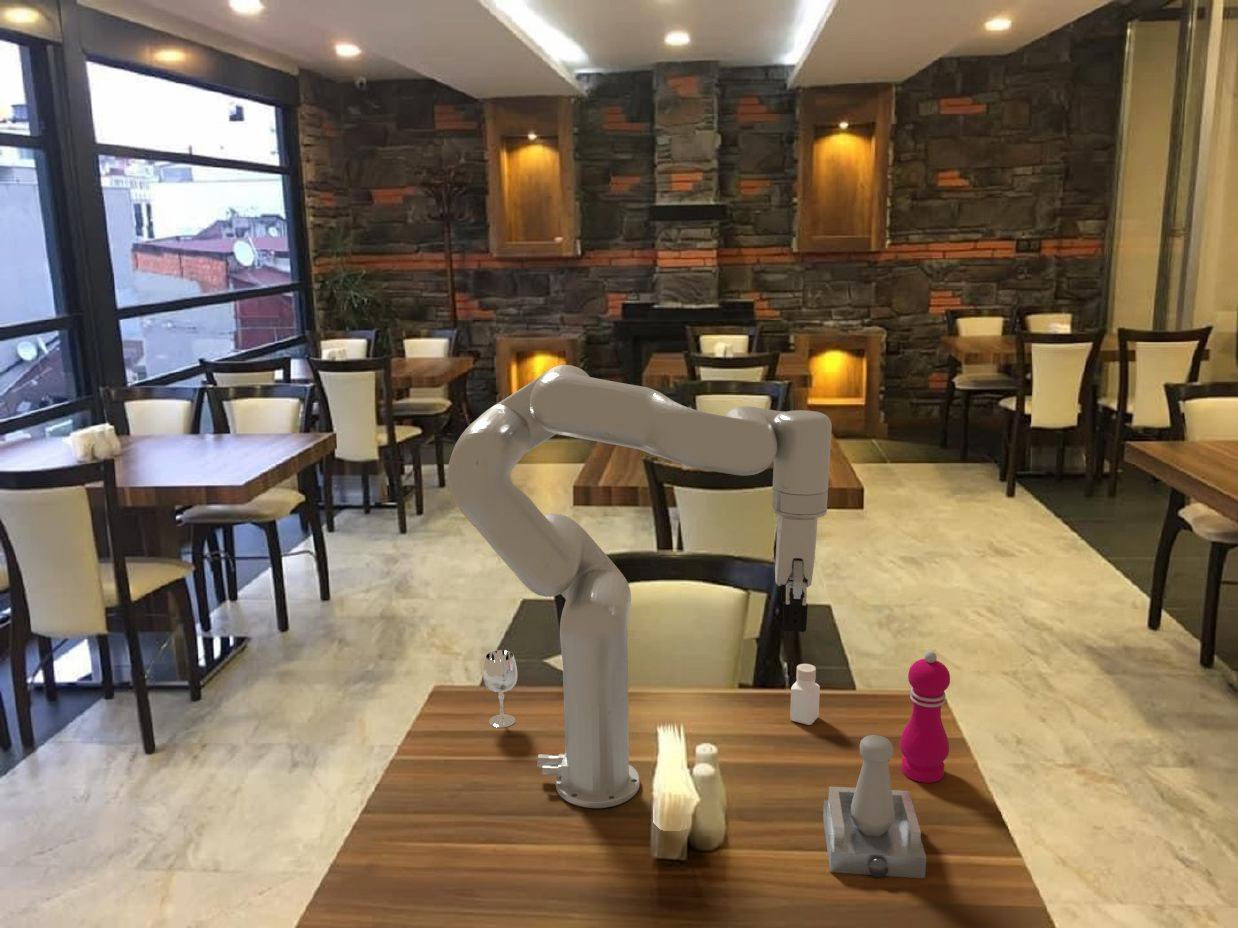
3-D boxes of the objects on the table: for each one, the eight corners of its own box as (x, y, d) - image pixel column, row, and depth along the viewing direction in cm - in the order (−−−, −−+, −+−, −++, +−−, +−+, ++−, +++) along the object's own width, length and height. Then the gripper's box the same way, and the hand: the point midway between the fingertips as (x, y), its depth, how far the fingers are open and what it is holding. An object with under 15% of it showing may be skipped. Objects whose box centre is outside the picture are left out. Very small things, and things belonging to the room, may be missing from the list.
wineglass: (482, 715, 172) (479, 651, 169) (515, 710, 174) (512, 646, 171) (488, 731, 167) (485, 665, 164) (522, 726, 168) (519, 660, 166)
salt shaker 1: (819, 717, 171) (822, 665, 168) (811, 727, 167) (813, 674, 165) (797, 711, 173) (799, 660, 170) (788, 721, 169) (790, 669, 167)
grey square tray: (830, 875, 130) (832, 838, 128) (823, 818, 142) (824, 783, 141) (926, 882, 128) (928, 844, 127) (910, 823, 141) (912, 788, 139)
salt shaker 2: (895, 842, 131) (900, 753, 128) (850, 837, 133) (855, 749, 129) (892, 817, 137) (897, 731, 134) (849, 812, 138) (853, 727, 135)
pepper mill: (909, 754, 158) (917, 637, 154) (954, 770, 154) (963, 649, 149) (890, 774, 153) (897, 653, 148) (935, 790, 149) (945, 666, 144)
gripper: (771, 483, 147) (766, 593, 151) (772, 517, 130) (766, 639, 134) (823, 485, 146) (816, 596, 150) (831, 520, 129) (823, 643, 133)
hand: (793, 616), depth 142 cm, fingers open, 9 cm apart
